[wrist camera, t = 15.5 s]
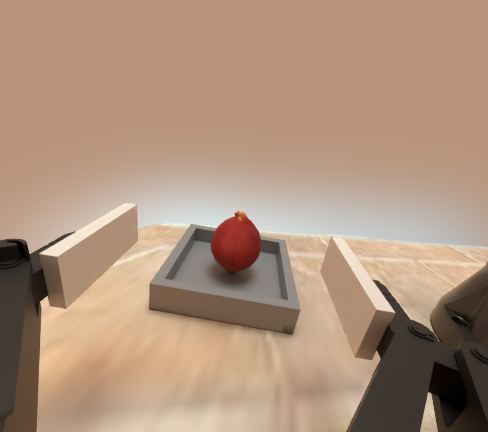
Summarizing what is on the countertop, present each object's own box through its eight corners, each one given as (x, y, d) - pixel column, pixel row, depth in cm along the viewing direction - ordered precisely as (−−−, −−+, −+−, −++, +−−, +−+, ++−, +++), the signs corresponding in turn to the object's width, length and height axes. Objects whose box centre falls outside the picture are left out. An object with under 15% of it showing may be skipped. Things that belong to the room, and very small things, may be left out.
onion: (221, 253, 32) (230, 198, 29) (261, 268, 31) (274, 210, 28) (198, 274, 27) (206, 210, 24) (244, 293, 25) (258, 226, 23)
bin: (189, 242, 36) (191, 224, 35) (280, 258, 36) (285, 240, 35) (149, 308, 23) (149, 283, 22) (292, 334, 23) (300, 309, 22)
